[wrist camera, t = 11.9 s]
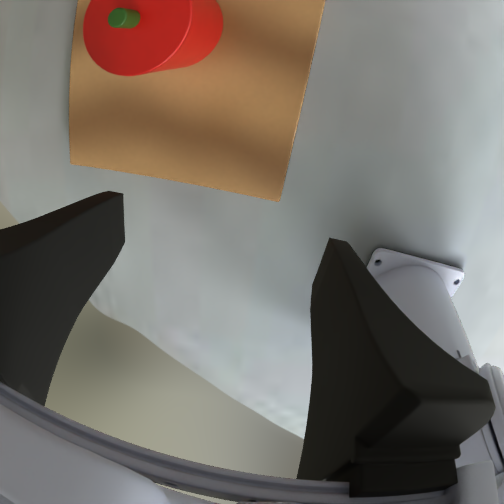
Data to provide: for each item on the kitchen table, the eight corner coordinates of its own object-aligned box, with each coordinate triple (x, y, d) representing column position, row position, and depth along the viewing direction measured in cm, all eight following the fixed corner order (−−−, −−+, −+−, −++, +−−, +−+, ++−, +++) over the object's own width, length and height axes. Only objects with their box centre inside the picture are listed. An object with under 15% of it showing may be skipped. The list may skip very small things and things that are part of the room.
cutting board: (280, 192, 20) (279, 202, 18) (81, 156, 20) (69, 164, 19) (341, -82, 9) (344, -91, 8) (111, -85, 10) (99, -90, 8)
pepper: (215, 72, 15) (170, 83, 9) (132, 66, 15) (60, 80, 10) (231, -12, 12) (192, -46, 7) (144, -13, 12) (73, -32, 7)
